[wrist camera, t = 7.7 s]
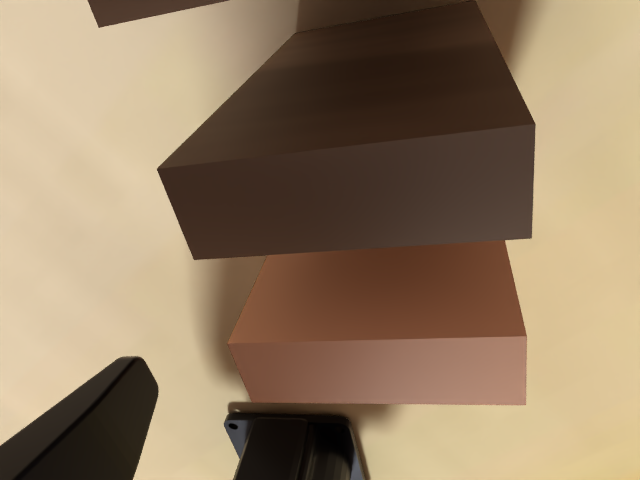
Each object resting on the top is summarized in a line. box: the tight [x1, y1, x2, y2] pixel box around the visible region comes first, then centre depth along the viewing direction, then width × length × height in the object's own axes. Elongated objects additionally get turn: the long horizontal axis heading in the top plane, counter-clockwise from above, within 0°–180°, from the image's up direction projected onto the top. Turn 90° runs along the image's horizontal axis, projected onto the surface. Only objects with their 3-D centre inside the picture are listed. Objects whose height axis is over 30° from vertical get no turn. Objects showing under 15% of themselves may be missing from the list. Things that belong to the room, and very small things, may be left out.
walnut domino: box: [157, 0, 535, 260], centre depth 10 cm, size 2×5×9 cm, turn 101°
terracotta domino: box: [227, 240, 527, 405], centre depth 12 cm, size 2×5×9 cm, turn 102°
